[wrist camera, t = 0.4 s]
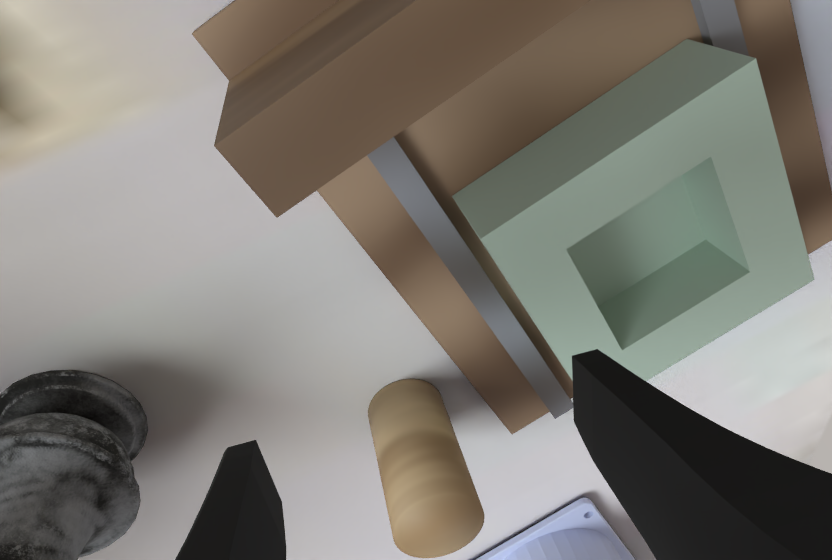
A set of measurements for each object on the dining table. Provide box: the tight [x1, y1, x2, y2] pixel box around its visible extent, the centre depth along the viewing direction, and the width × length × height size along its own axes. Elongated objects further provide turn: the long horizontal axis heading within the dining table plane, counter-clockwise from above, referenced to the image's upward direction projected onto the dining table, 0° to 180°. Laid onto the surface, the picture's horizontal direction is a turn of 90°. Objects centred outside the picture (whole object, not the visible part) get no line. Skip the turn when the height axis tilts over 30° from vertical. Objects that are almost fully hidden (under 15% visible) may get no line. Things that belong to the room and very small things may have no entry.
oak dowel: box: [368, 379, 484, 558], centre depth 23 cm, size 3×3×6 cm
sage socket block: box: [452, 39, 814, 381], centre depth 21 cm, size 9×9×3 cm
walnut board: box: [192, 0, 832, 434], centre depth 19 cm, size 20×16×7 cm
